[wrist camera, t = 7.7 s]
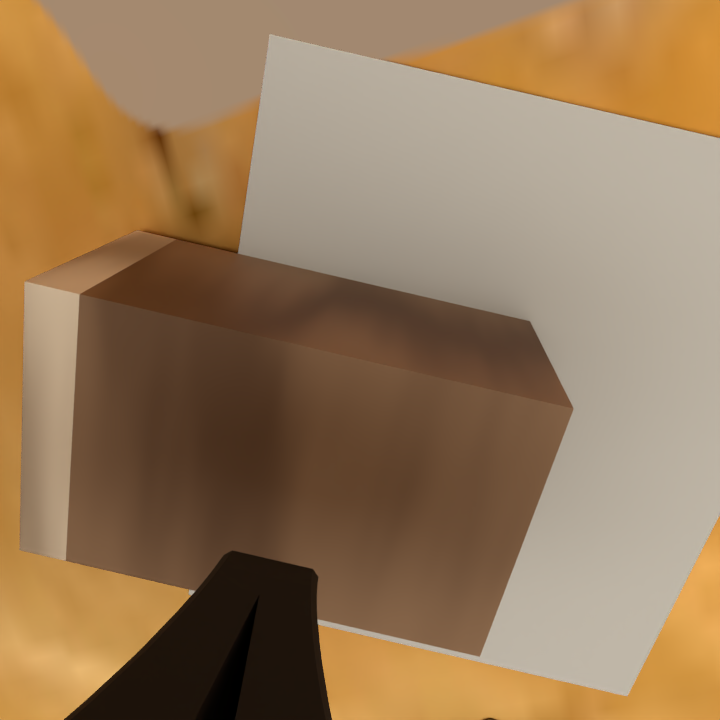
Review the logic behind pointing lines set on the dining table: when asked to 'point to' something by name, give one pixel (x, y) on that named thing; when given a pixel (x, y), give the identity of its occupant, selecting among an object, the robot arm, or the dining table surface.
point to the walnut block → (284, 432)
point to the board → (530, 310)
